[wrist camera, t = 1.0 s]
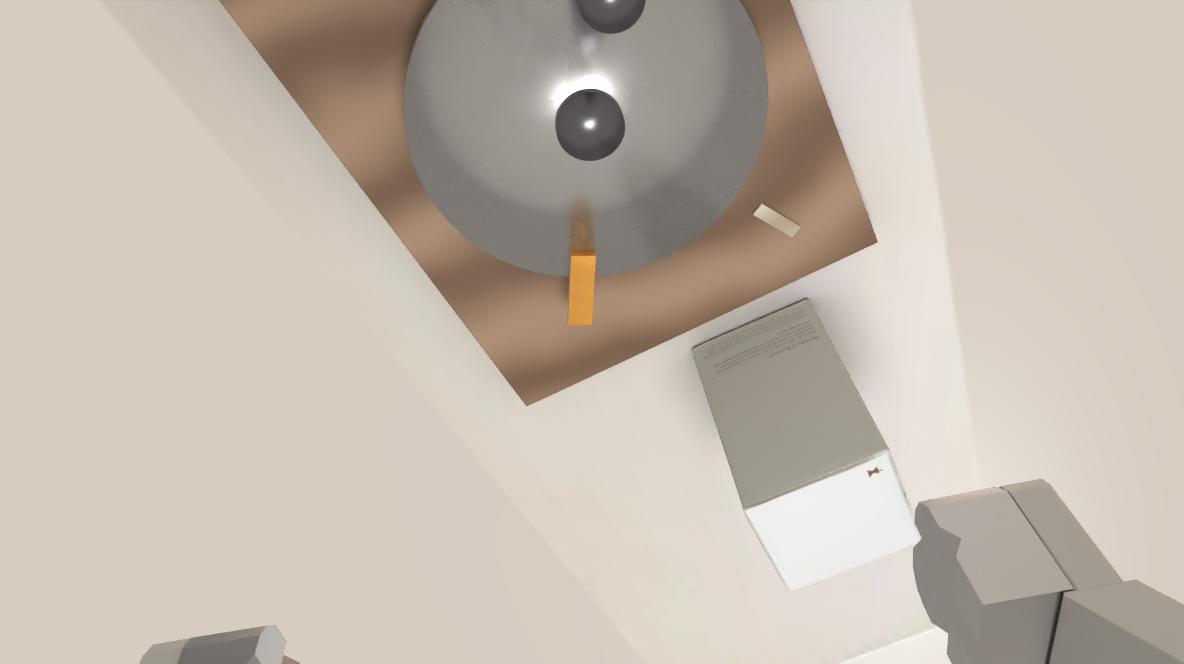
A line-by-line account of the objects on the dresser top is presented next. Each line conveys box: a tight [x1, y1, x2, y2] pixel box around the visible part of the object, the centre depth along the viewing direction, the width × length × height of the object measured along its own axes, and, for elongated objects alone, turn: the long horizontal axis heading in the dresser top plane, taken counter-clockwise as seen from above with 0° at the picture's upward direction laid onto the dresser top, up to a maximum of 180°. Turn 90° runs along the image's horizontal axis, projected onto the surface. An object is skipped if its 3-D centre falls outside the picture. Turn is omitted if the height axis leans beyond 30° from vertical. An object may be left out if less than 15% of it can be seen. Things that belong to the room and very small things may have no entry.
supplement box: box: [692, 299, 922, 592], centre depth 47 cm, size 7×7×13 cm
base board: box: [219, 0, 878, 406], centre depth 41 cm, size 28×21×2 cm
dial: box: [404, 0, 768, 325], centre depth 38 cm, size 18×16×6 cm
